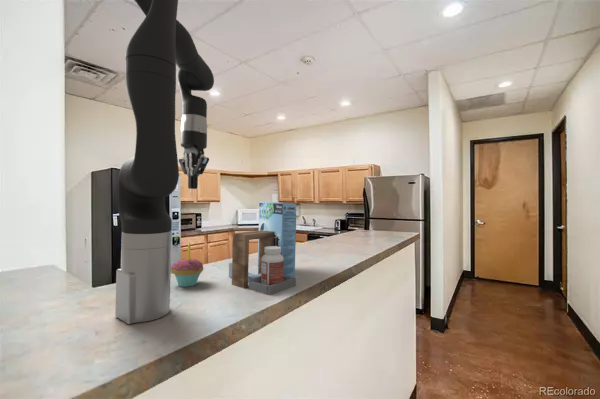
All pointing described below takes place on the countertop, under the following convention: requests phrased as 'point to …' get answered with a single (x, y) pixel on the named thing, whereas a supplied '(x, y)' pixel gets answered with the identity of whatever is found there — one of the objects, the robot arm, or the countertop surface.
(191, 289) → the countertop surface
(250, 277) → the sled
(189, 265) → the cupcake
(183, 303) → the countertop surface
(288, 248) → the light blue upright box
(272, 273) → the pill bottle
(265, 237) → the tunnel
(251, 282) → the dock
